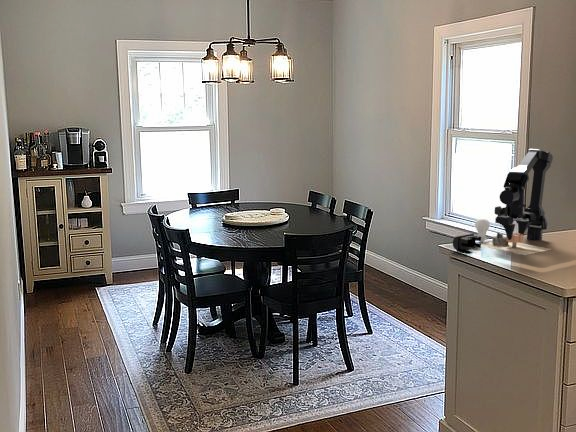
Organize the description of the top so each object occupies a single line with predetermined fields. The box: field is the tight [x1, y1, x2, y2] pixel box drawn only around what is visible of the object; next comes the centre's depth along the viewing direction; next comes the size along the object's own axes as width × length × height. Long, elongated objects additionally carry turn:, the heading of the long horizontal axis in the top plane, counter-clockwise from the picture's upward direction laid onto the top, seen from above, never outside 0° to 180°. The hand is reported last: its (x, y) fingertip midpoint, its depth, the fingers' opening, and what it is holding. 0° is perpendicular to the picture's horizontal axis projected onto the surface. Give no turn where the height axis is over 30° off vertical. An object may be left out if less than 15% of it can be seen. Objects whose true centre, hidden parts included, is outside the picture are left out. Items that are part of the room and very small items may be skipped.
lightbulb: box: [474, 217, 491, 243], centre depth 281 cm, size 6×6×11 cm
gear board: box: [480, 232, 552, 256], centre depth 265 cm, size 17×24×7 cm
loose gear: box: [505, 232, 524, 243], centre depth 264 cm, size 6×6×3 cm
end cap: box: [452, 232, 482, 255], centre depth 265 cm, size 10×7×7 cm
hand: (514, 238), depth 264 cm, fingers closed on loose gear, 6 cm apart
